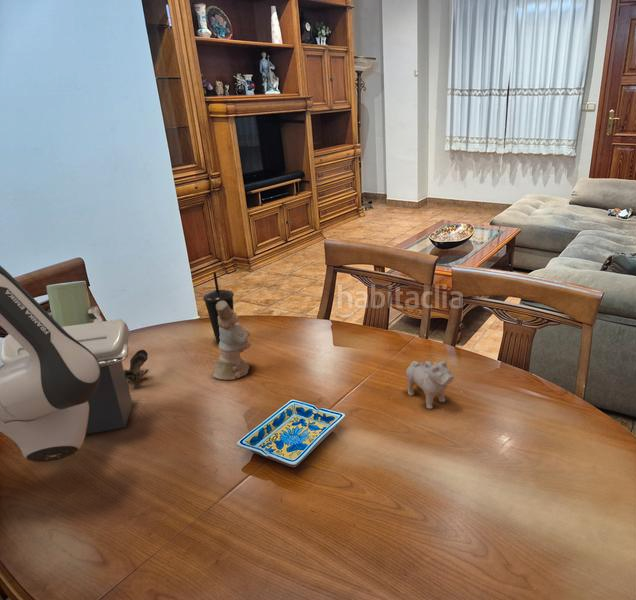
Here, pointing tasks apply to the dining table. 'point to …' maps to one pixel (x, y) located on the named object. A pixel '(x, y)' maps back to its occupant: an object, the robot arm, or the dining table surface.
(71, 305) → the green cup
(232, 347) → the figurine
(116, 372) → the stand
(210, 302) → the drinking cup
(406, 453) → the dining table surface
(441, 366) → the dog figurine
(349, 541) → the dining table surface
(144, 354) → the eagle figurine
